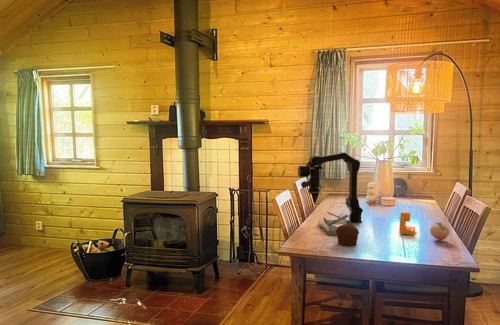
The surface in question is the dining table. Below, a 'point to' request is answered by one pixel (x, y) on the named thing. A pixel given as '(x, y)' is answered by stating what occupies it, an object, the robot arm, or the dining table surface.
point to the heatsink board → (332, 226)
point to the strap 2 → (337, 220)
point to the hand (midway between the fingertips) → (315, 201)
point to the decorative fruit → (439, 231)
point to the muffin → (347, 235)
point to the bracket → (403, 228)
